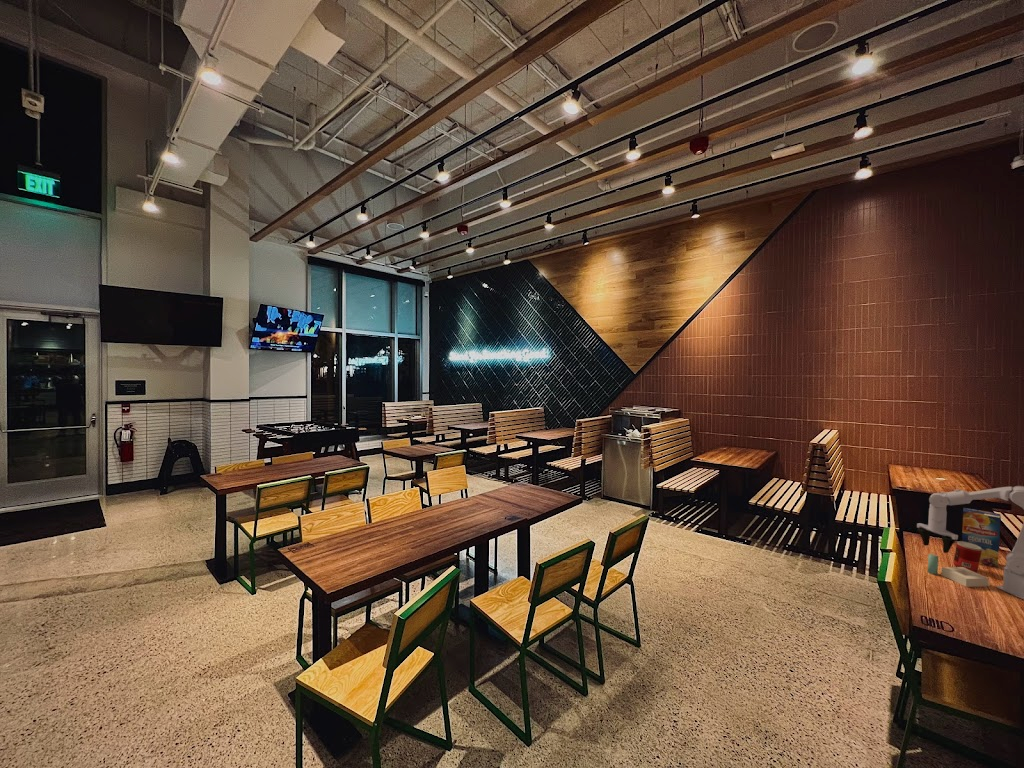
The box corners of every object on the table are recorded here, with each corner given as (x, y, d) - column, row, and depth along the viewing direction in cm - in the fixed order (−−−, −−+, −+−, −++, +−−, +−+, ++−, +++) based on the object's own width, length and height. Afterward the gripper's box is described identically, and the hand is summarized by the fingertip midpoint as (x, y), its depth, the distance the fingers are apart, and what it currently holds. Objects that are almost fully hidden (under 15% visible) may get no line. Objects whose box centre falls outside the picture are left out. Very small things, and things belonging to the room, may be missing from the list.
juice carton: (960, 559, 206) (963, 511, 204) (960, 554, 211) (963, 507, 209) (997, 568, 197) (1000, 517, 196) (997, 563, 202) (1000, 514, 201)
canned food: (982, 572, 193) (987, 550, 192) (964, 571, 194) (968, 548, 192) (965, 563, 201) (970, 541, 199) (948, 562, 201) (952, 540, 200)
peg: (939, 574, 191) (940, 557, 190) (932, 574, 191) (933, 557, 190) (932, 571, 194) (933, 554, 194) (925, 571, 194) (926, 554, 194)
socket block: (988, 586, 181) (988, 578, 181) (965, 586, 181) (966, 578, 180) (962, 574, 191) (962, 567, 191) (941, 575, 191) (941, 567, 190)
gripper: (963, 524, 187) (962, 554, 188) (925, 513, 201) (924, 541, 202) (951, 526, 186) (950, 556, 186) (914, 514, 200) (912, 542, 200)
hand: (935, 548), depth 194 cm, fingers open, 7 cm apart
